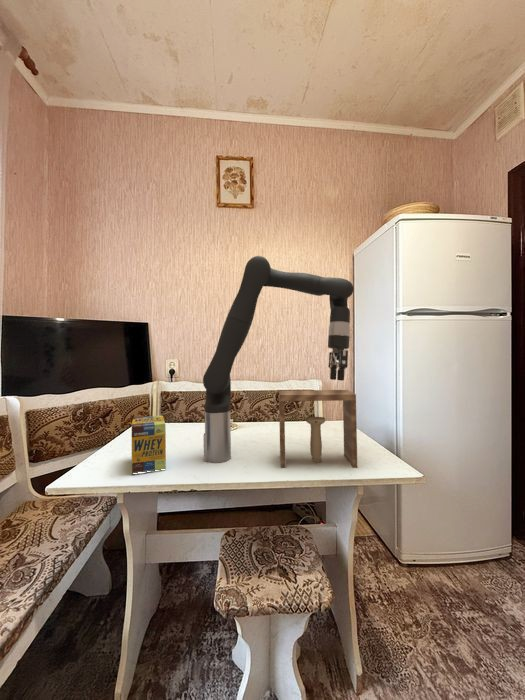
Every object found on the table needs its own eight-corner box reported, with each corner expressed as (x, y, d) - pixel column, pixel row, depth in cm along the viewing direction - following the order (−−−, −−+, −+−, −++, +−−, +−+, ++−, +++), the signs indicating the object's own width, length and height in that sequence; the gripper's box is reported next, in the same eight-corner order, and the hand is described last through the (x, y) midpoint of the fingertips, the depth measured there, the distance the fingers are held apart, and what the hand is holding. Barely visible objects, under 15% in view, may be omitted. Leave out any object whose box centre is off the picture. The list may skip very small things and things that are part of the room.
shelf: (280, 467, 98) (279, 395, 98) (280, 455, 110) (278, 390, 110) (357, 467, 97) (355, 394, 97) (348, 455, 109) (346, 389, 109)
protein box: (131, 476, 93) (131, 426, 94) (133, 460, 108) (132, 417, 108) (166, 470, 97) (165, 423, 97) (163, 456, 112) (162, 414, 112)
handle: (326, 464, 101) (325, 419, 101) (307, 463, 101) (306, 419, 101) (324, 459, 105) (324, 416, 106) (306, 458, 106) (305, 416, 106)
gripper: (323, 336, 115) (321, 378, 113) (334, 332, 100) (332, 379, 99) (342, 338, 115) (340, 380, 114) (356, 333, 101) (354, 381, 100)
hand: (336, 380), depth 107 cm, fingers open, 8 cm apart
